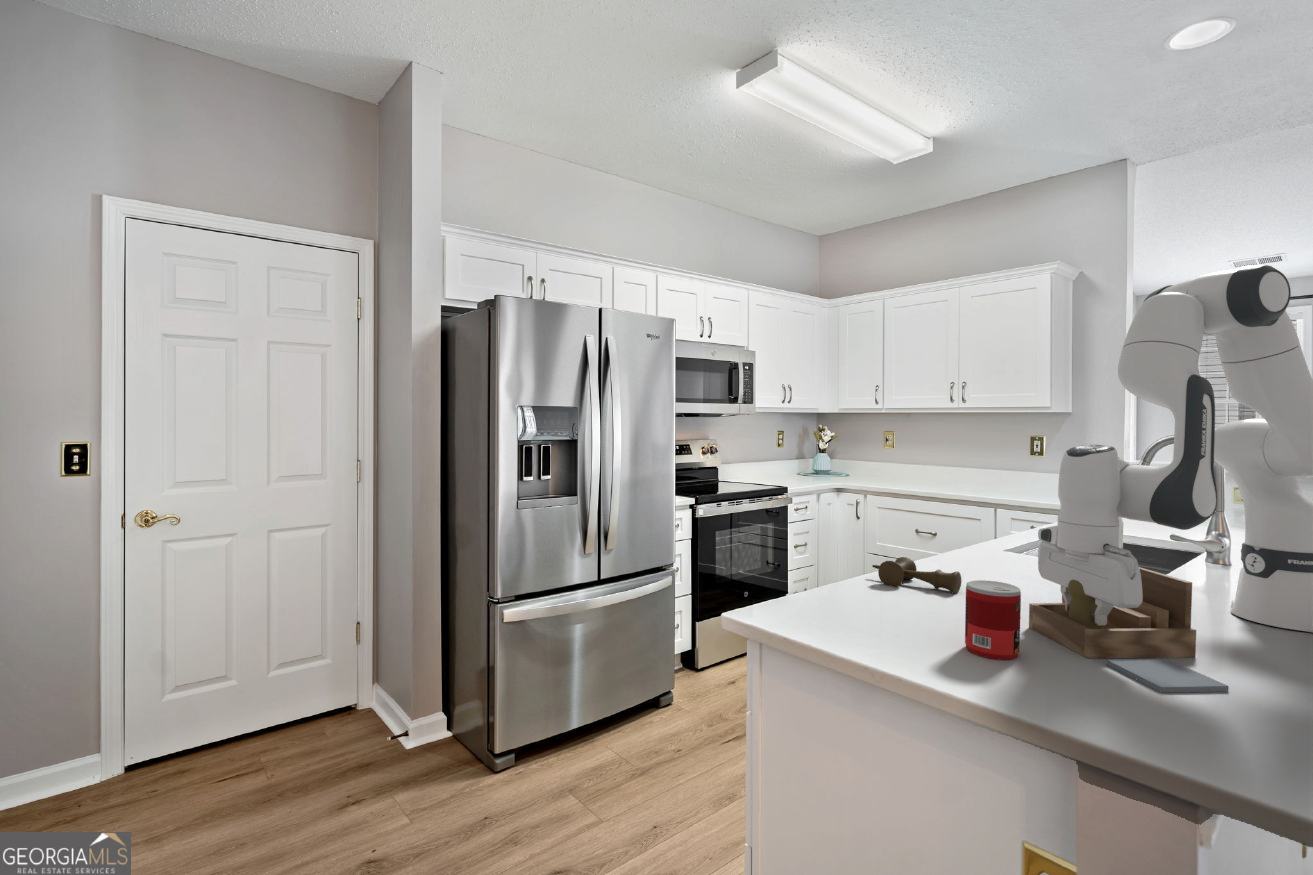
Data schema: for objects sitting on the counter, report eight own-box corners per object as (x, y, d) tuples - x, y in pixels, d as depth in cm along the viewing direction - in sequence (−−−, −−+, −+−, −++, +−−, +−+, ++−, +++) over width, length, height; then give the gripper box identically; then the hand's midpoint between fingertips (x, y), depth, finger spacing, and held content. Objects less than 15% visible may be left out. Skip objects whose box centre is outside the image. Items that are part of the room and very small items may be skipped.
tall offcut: (1119, 631, 114) (1121, 593, 114) (1167, 652, 104) (1168, 610, 104) (1109, 631, 114) (1110, 593, 114) (1155, 652, 104) (1157, 610, 104)
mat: (1167, 663, 99) (1167, 658, 99) (1228, 691, 89) (1228, 685, 89) (1106, 664, 98) (1106, 659, 98) (1160, 692, 88) (1161, 687, 88)
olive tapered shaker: (1057, 634, 112) (1059, 573, 112) (1095, 637, 111) (1097, 575, 110) (1072, 646, 106) (1074, 582, 106) (1113, 649, 105) (1114, 584, 104)
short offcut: (1104, 632, 114) (1104, 599, 114) (1150, 652, 104) (1151, 616, 104) (1093, 632, 114) (1094, 599, 113) (1138, 652, 104) (1139, 617, 103)
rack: (1122, 626, 116) (1124, 562, 116) (1195, 657, 102) (1197, 584, 101) (1028, 627, 116) (1030, 563, 115) (1088, 658, 101) (1090, 584, 100)
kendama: (951, 600, 135) (862, 581, 148) (965, 592, 142) (879, 575, 155) (953, 573, 135) (864, 556, 148) (967, 566, 142) (880, 551, 155)
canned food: (1027, 662, 99) (1029, 593, 99) (973, 658, 100) (974, 591, 100) (1008, 645, 107) (1010, 581, 106) (958, 642, 108) (960, 578, 108)
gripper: (1155, 551, 98) (1153, 639, 98) (1064, 528, 118) (1062, 601, 118) (1117, 551, 97) (1114, 639, 98) (1031, 528, 118) (1030, 601, 118)
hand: (1085, 618), depth 108 cm, fingers closed on olive tapered shaker, 5 cm apart
